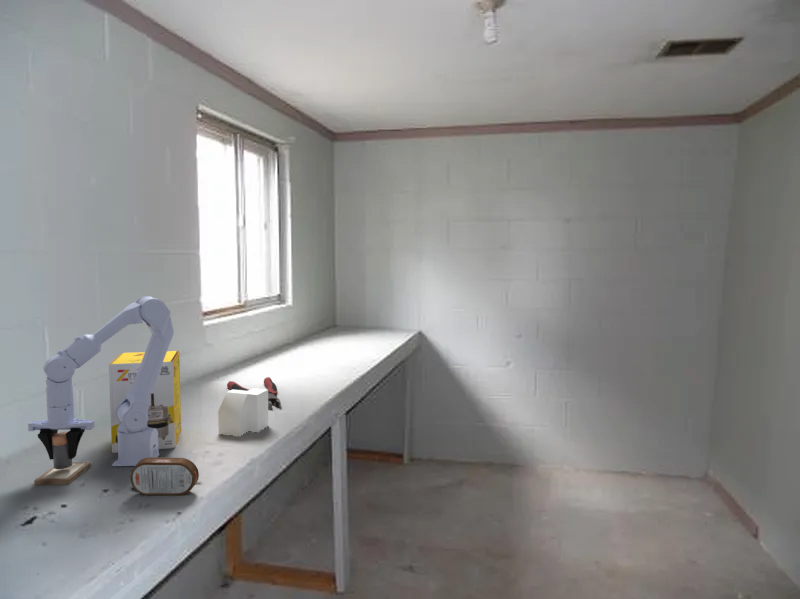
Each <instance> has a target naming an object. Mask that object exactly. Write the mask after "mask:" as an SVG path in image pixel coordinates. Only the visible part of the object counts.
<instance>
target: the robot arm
mask: <svg viewBox="0 0 800 599" xmlns="http://www.w3.org/2000/svg"><path fill="white" fill-rule="evenodd" d="M143 322H144V323H145V324H146V326H147V327H148V329H149V331H150V332H151V336H150V339H149V340H148V344H147V347H146V349H145V351H144V352H145V354H144V357H143V359H142V362H141V364H140V367H139V370H138V372H137V375H136V377H135V380H134V382H133V385H132V388H131V390H130V391H129V392H128V393H127V394H126V397H125V399H124V401H123V402H122V403H121V404H120V405H119V406H118V407H117V410H116V416H117V418H118V419H119V420H120V421H121V423H120V425H119V426H118V428H117V436H118V453H117V454H118V455H117V456H118V458H117V460H115V461H114V462H113V463H112V465H111V466H112V467H135V466H136V464H137V463H138V462H139V461H140V460H142V459H144V458H148V457H159V456H160V453H159V452H160V449H159V447H158V431H157V429H156V428H150V427H148V426H147V422H148V409H149V406H150V395H151V392H152V389H153V387H154V384H155V381H156V379H157V376H158V374H159V371H160V368H161V366H162V363H163V361H164V358H165V355H166V353H167V351H169V350H168V349H169V347H170V344H171V343H172V342H171V341H172V340H173V337H174V327H173V322H172V318H171V310H170V309H169V307H168V306H167V305H166V303H165V302H164V301H163V300H161V299H158V298H155V297H153V296H150V295H144V296H141V297H139V298H138V299H137V300H136V301H134V302H132V303H130V304H128V305H127V306H126V307H125V308H123V309H122V310H121V311H119V312H118V313H117V314H116V315H115V316H113V317H112V318H111V319H109V320H108V321H107V322H106V323H105V324H104V325H103V326H101V327H100V328H98V330H96V331H94V332H93V333H91V334H86V333H85V334H83V335H81V336H79V335H77V336H75V337H74V338H73V340H74V341H73V342H72V343H70V344H69V345H68V346H66V347H65V348H64V349H59V350H58V351H57V352H56V354H57V355H53V356H51V357H48V359H47V360H46V361H45V364H44V366H43V371H44V374H45V375H46V380H45V382H46V384H45V385H46V387H45V396H46V398H45V399H46V413H47V414H46V415H47V419H44V420H34V421H33V420H32V421H30V422H29V423H28V424H27V425H28V428H27V429H28V432H35V431H39V433H38V434H37V438H38V439H39V440H40V441H41V443H42V444H43V446H44V448H45V450H46V452H47V455H48V457H49V460H51V461H52V460H53V447H52V435H54V434H57V433H59V432H58V431H59V430H60V431H61V430H64V431H65V430H69V431H66V432H67V433H66V438H67V441H68V447H69V459H72V460H73V459H74V458H76V457H77V453H78V447H79V444H80V441H81V438H82V437H83V434H84V433H85V430H86V431H91V430H92V429H94V428H95V419H82V418H76V417H75V416H76V415H75V414H76V413H75V399H74V398H75V396H74V395H75V393H74V384H73V376H74V374H75V370H77V369H79V368H81V367H82V366H84V364H86V363H87V362H89V361H90V360H91V359H93V357H95V356H97V355H98V354H99V353H100V352H101V351H102V344H104V343H105V342H106V341H108V340H110V338H113V336H116V335H117V334H118V333H119V332H121V331H122V330H123V329H125V328H126V327H128V326H129V325H136V324H137V325H138V324H143Z"/></svg>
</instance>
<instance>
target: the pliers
mask: <svg viewBox="0 0 800 599" xmlns="http://www.w3.org/2000/svg"><path fill="white" fill-rule="evenodd" d="M263 385H264V386H265V388H266V389H267V390H268V410H270V411H271V409H272V410H273V406H274V407H275V408H277V409H278V408H281V406H282V405H281V400H280V398H279V397H278V387H277V385H276V383H274V382H273V380H272V378H271V377H270V376H268V377H264V378H263ZM226 387H227V389H228V390H230V389H231V390H244V391H248V390H250V389H249V388H246V387H244V386H241V385H240V384H239V383H237V382H235V381H228V382H227V383H226ZM272 404H273V405H272Z"/></svg>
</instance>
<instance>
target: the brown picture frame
mask: <svg viewBox="0 0 800 599" xmlns="http://www.w3.org/2000/svg"><path fill="white" fill-rule="evenodd" d="M90 466H91V467H92V462H90V461H88V462H87V461H86V462H85V461H84V462H83V461H81V462H79V461H78V462H77V461H76V462H73V461H72V466H70V467H68V468H65V469H54V466H52V467H51V468H50V469H48V470H47V471H45V472H44V473H43V474H41V475H40V476H39V477H37V478H36V479H34V480H33V481H34V482H33V483H34V486H35V485H36V486H37V485H38V486H39V485H40V486H42V485H44V486H45V485H70V484H72V482H74V481H75V480H76V479H78V478H79V477H80V476H79V475H80V474H81V475H82V474H83V473H85V472H86V471H88V469H89V468H91V467H90ZM85 470H86V471H85Z"/></svg>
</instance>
